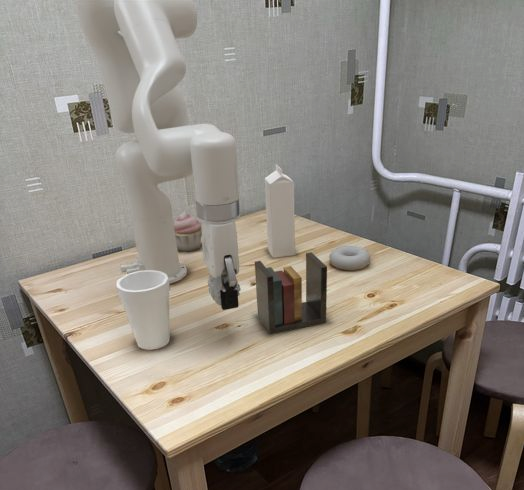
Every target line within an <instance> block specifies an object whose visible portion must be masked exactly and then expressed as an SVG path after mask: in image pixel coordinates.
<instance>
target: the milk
mask: <svg viewBox="0 0 524 490" xmlns="http://www.w3.org/2000/svg"><path fill="white" fill-rule="evenodd" d="M264 193H265V215H266V235H267V236H266V238H267V240H266V241H267V251H268V253H269V254H270V255H271V257H272V258H273V259H275V258H284V257H291V256H295V255H296V229H295V228H296V227H295V226H296V224H295V223H296V221H295V218H296V217H295V181H294V180H292V179H291V177H289V175H287V174H284V173H283V169H282V168H281V167H280V166H279V165H278V164H277V163H276V164H275V170H274V171H272V172H271V173H270V174H269V175H267V176H266V177H264Z"/></svg>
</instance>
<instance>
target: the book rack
mask: <svg viewBox="0 0 524 490" xmlns="http://www.w3.org/2000/svg"><path fill="white" fill-rule="evenodd" d="M254 274H255V275H254V276H255V290H256V308H257V309H256V310H257V317H258V319H259V320H260V322H261V323H262V325H263V327H264V328H265V329H266V332H268V334H269V335H273V334H278V333H283V332H287V331H292V330H298V329H303V328H306V327H312V326H317V325H322V324H326V323H327V302H328V301H327V299H328V298H327V296H328V293H327V292H328V266H327V264H325V263H324V262H323V261H322V260H320V259H319V258H318V257H317V256H316V255H315V254H314V253H313V252H311V251H309V252H306V253H305V301H303V280H302V279H303V278H302V276H301V275H300V274H299V273H298V272H297V271H296V270H295V269H294V267H292V266H291V265H290V266H284V267H283V270H281V269H280V270H276V271H275V270H274V269H273V268H272V267H271V266H269V267H266V266H265V264H264V263H263V262H262V261H261V260H256V261H254Z"/></svg>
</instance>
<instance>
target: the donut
mask: <svg viewBox="0 0 524 490" xmlns="http://www.w3.org/2000/svg"><path fill="white" fill-rule="evenodd" d="M370 254H371V253H369V251H368V250H367V249H366V248H363V247H361V246H356V245H342V246H340V247H335V248H334V249H333V250H331V252H330V253H329V257H328V258H329V262H330V264H331V265H332V266H333V267H335V268H337V269H340V270H345V271H355V270H359V269H363V268H365V267H366V266H367V265H369V263H370V261H371V255H370Z"/></svg>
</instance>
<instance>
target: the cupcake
mask: <svg viewBox="0 0 524 490" xmlns="http://www.w3.org/2000/svg"><path fill="white" fill-rule="evenodd" d="M173 223H174V230H175V237H176V244H177V250H179V251H181V252H191V251H196V250H198V249H199V248H200V247H201V245H202V230H201V222H200V221H199V220H198V219H197V217H195V216H193V215H191V214H190V213H188V212H187V211H184V212H181V213H180V214H179V215H178V217H177V219H176V220H175V221H173Z"/></svg>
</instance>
